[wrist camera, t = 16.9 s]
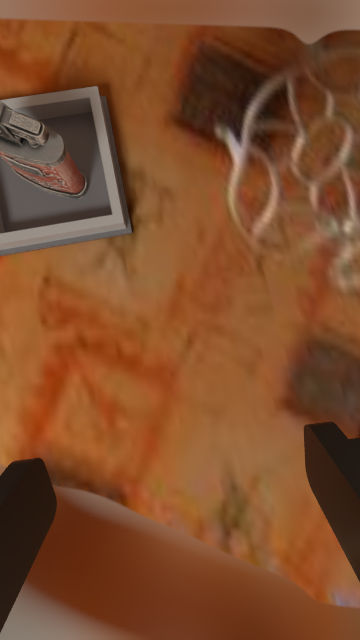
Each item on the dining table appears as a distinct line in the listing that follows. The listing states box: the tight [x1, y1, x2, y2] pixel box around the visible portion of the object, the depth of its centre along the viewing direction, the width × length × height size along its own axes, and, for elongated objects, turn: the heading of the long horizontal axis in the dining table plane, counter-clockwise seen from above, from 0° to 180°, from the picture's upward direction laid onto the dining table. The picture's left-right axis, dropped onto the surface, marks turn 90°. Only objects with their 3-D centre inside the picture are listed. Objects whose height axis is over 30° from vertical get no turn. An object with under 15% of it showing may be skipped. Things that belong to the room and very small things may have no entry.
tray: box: [0, 86, 132, 256], centre depth 29 cm, size 15×15×2 cm
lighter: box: [0, 101, 89, 199], centre depth 25 cm, size 8×3×10 cm, turn 70°
